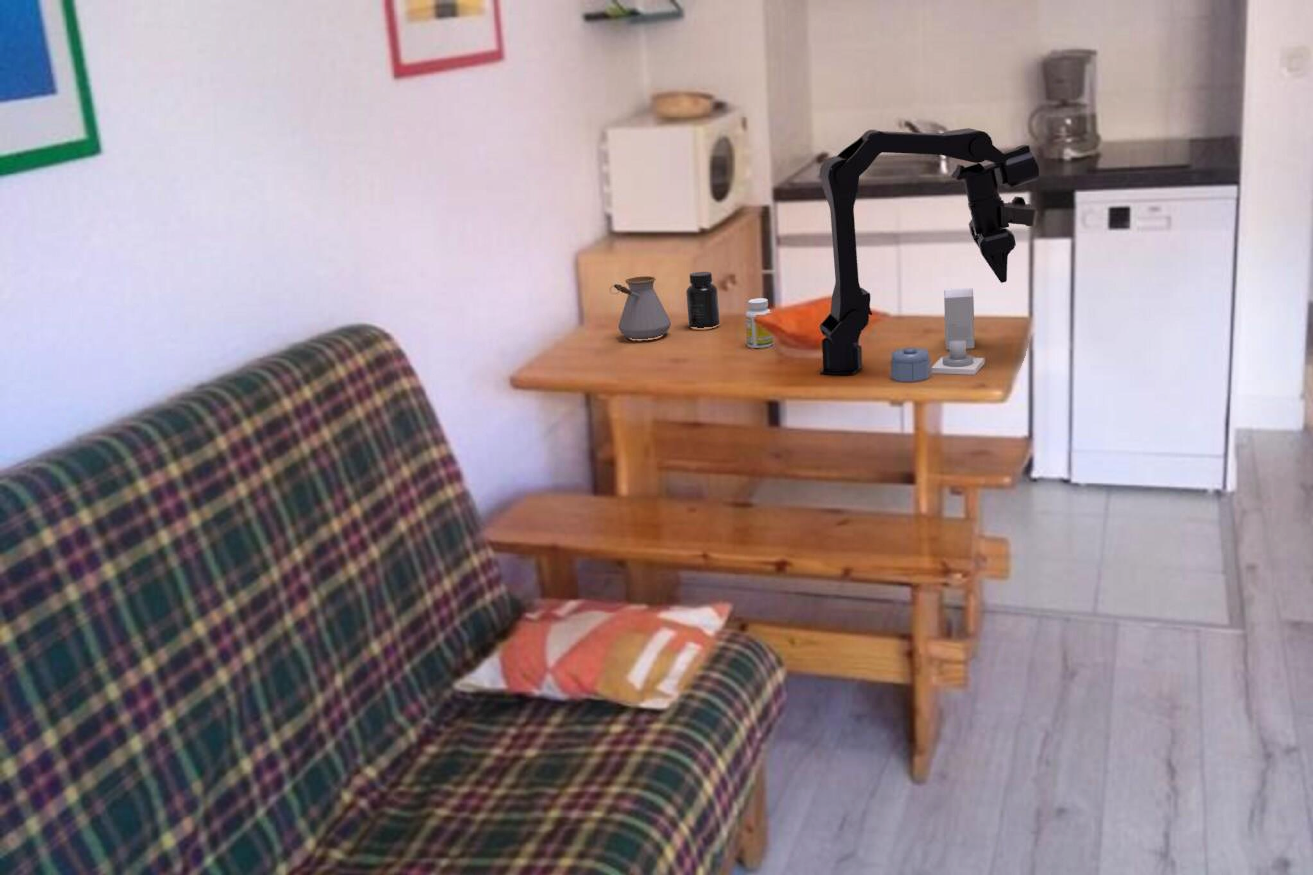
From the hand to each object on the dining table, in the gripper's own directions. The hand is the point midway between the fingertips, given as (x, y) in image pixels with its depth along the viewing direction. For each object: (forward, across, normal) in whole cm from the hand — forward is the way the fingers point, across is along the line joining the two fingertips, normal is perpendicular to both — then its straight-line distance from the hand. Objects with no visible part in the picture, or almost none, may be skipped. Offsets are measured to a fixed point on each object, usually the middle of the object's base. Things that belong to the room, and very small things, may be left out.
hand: (1000, 276), depth 258 cm
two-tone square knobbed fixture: (+12, -10, +12) cm, 20 cm away
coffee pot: (+2, +24, +75) cm, 79 cm away
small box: (+14, +7, +10) cm, 18 cm away
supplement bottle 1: (+5, +35, +62) cm, 71 cm away
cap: (+10, -14, +20) cm, 27 cm away
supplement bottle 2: (+6, +15, +49) cm, 51 cm away
